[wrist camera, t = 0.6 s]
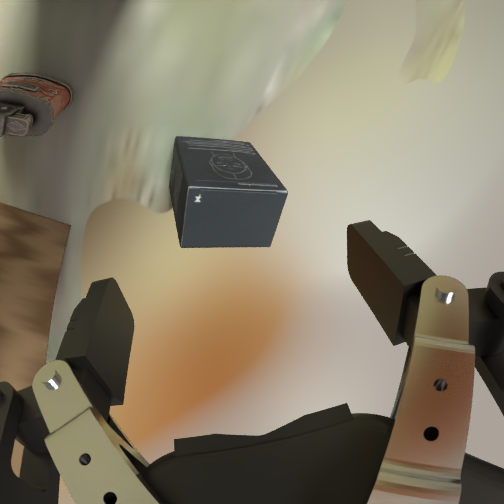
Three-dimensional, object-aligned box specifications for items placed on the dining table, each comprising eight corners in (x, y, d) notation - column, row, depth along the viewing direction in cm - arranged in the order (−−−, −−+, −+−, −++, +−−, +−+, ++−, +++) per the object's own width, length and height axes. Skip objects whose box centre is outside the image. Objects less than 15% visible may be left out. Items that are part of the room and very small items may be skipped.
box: (168, 185, 33) (178, 250, 25) (175, 134, 29) (187, 185, 22) (240, 189, 35) (271, 249, 28) (251, 141, 32) (290, 191, 24)
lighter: (78, 81, 23) (46, 108, 15) (68, 115, 24) (37, 156, 17) (4, 68, 19) (-50, 94, 12) (-3, 102, 20) (-54, 140, 13)
